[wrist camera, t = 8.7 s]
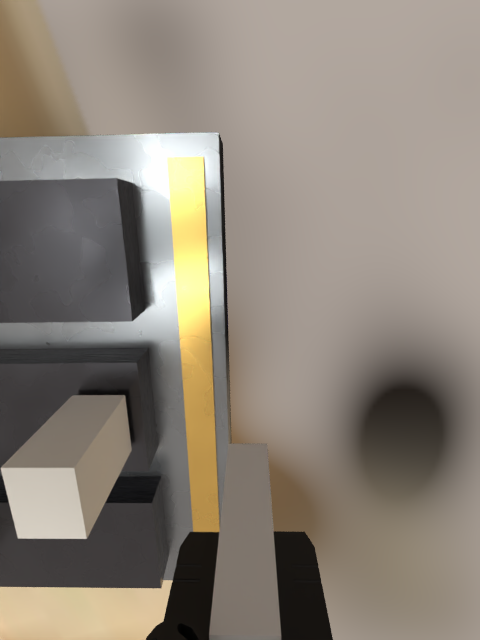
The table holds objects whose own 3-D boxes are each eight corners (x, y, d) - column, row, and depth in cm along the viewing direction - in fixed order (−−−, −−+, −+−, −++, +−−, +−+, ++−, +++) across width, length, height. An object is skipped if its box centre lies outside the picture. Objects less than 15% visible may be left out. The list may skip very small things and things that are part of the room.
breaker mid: (72, 395, 17) (0, 467, 12) (125, 395, 16) (74, 467, 12) (81, 450, 17) (17, 538, 13) (131, 449, 17) (86, 538, 12)
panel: (-198, 154, 18) (-335, 134, 14) (222, 143, 18) (214, 119, 13) (-68, 543, 26) (-132, 609, 21) (234, 545, 25) (231, 614, 21)
